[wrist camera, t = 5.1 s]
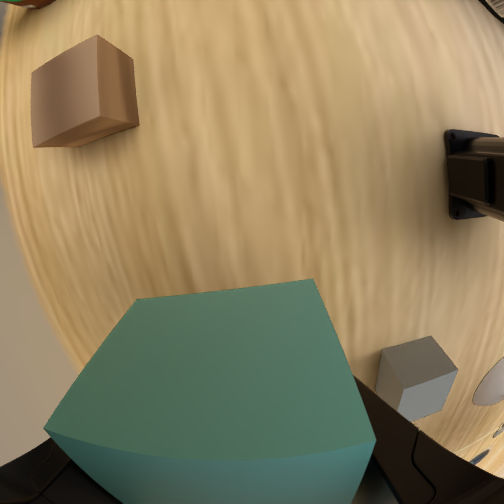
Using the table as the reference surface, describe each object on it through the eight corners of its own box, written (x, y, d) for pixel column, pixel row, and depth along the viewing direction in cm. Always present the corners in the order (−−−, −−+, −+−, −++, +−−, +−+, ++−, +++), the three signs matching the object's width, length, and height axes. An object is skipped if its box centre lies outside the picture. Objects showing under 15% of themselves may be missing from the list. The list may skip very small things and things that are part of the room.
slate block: (430, 335, 20) (458, 369, 15) (420, 375, 21) (441, 410, 17) (381, 348, 20) (403, 389, 15) (375, 389, 22) (391, 428, 17)
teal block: (312, 278, 7) (376, 440, 3) (317, 402, 9) (339, 525, 4) (137, 299, 8) (43, 428, 3) (183, 412, 9) (155, 524, 4)
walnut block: (133, 59, 14) (97, 34, 9) (139, 125, 15) (100, 115, 11) (75, 85, 14) (31, 72, 9) (79, 146, 16) (33, 147, 11)
